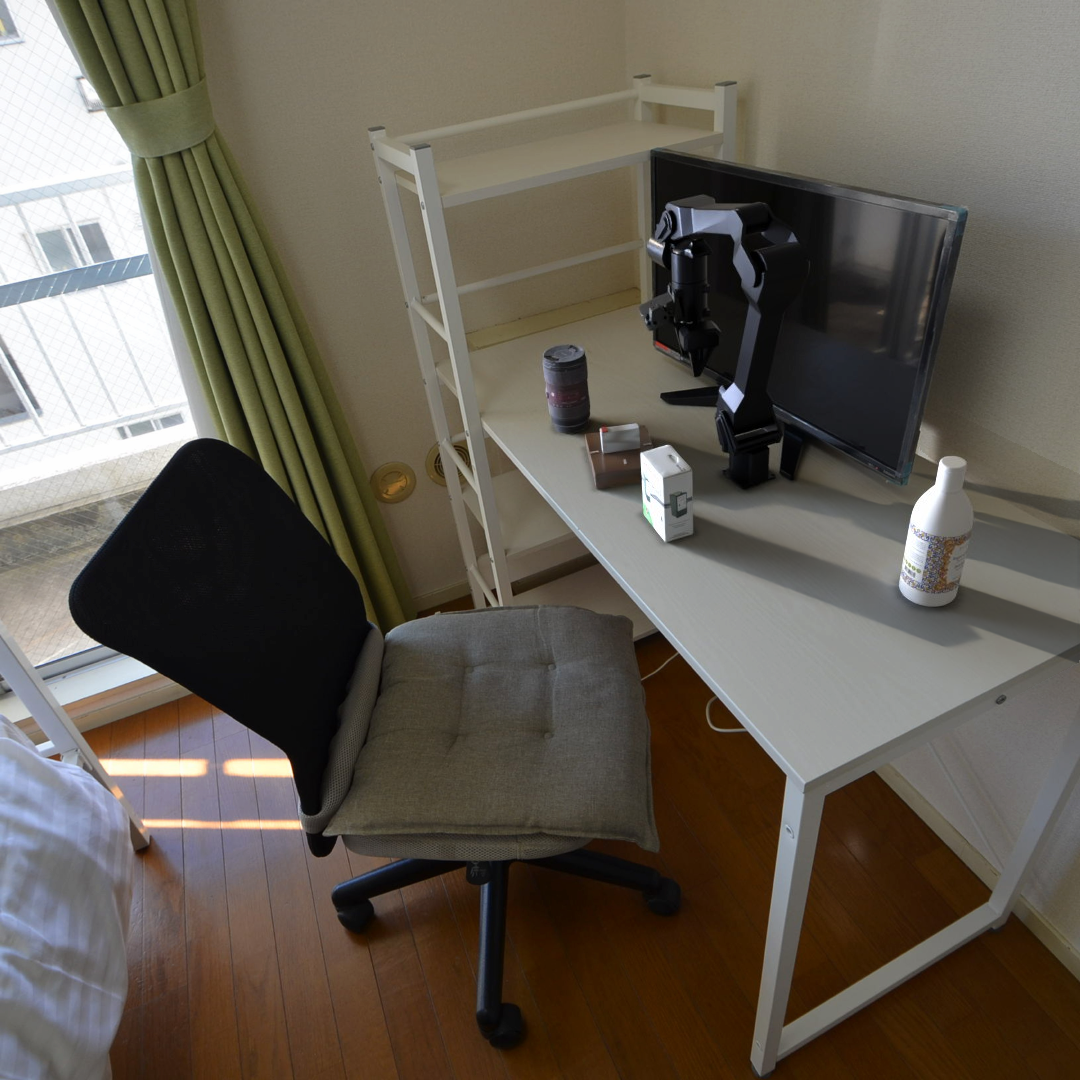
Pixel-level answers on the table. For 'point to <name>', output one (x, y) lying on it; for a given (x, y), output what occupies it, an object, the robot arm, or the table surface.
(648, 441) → the brown flat block
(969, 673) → the table surface
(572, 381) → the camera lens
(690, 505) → the ink box
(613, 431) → the small grey box
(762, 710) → the table surface
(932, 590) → the bath foam
